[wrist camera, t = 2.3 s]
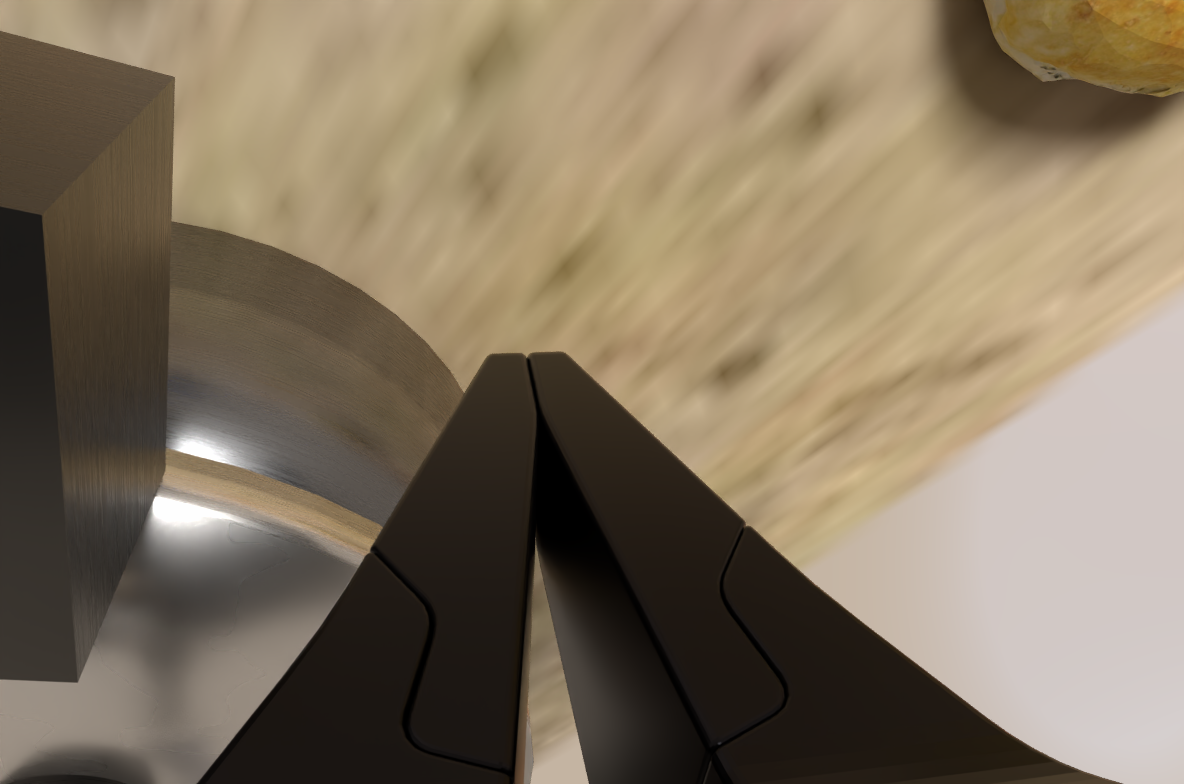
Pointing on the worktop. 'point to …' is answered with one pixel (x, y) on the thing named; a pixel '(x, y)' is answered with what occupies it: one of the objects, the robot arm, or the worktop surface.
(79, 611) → the cooker lid
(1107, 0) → the bread roll
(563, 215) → the worktop surface
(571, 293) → the worktop surface
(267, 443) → the cooker pot
